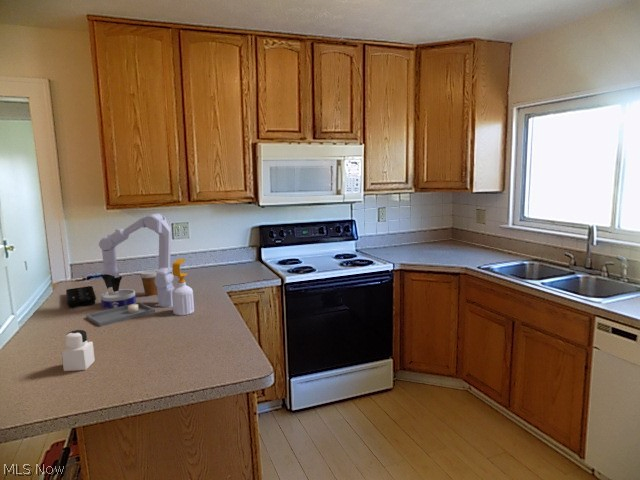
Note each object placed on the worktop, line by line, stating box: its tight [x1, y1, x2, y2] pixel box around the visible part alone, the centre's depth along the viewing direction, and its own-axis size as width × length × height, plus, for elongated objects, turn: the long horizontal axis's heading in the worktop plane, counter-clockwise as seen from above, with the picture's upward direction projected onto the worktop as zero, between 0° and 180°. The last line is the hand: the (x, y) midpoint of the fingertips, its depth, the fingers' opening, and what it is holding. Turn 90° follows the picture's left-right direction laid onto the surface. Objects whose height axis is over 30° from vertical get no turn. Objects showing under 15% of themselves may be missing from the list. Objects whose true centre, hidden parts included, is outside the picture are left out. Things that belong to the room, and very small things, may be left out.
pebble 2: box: [128, 304, 139, 314], centre depth 201 cm, size 4×4×3 cm
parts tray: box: [85, 301, 156, 327], centre depth 197 cm, size 24×16×2 cm, turn 136°
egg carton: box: [65, 285, 97, 309], centre depth 225 cm, size 18×30×4 cm, turn 42°
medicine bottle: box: [61, 329, 96, 372], centre depth 146 cm, size 7×7×12 cm
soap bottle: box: [171, 258, 195, 316], centre depth 199 cm, size 9×9×25 cm
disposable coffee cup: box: [140, 269, 158, 297], centre depth 230 cm, size 10×10×12 cm
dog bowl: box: [100, 288, 137, 309], centre depth 215 cm, size 15×15×6 cm
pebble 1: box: [107, 287, 119, 295], centre depth 212 cm, size 4×4×3 cm
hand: (112, 289), depth 212 cm, fingers open, 7 cm apart
